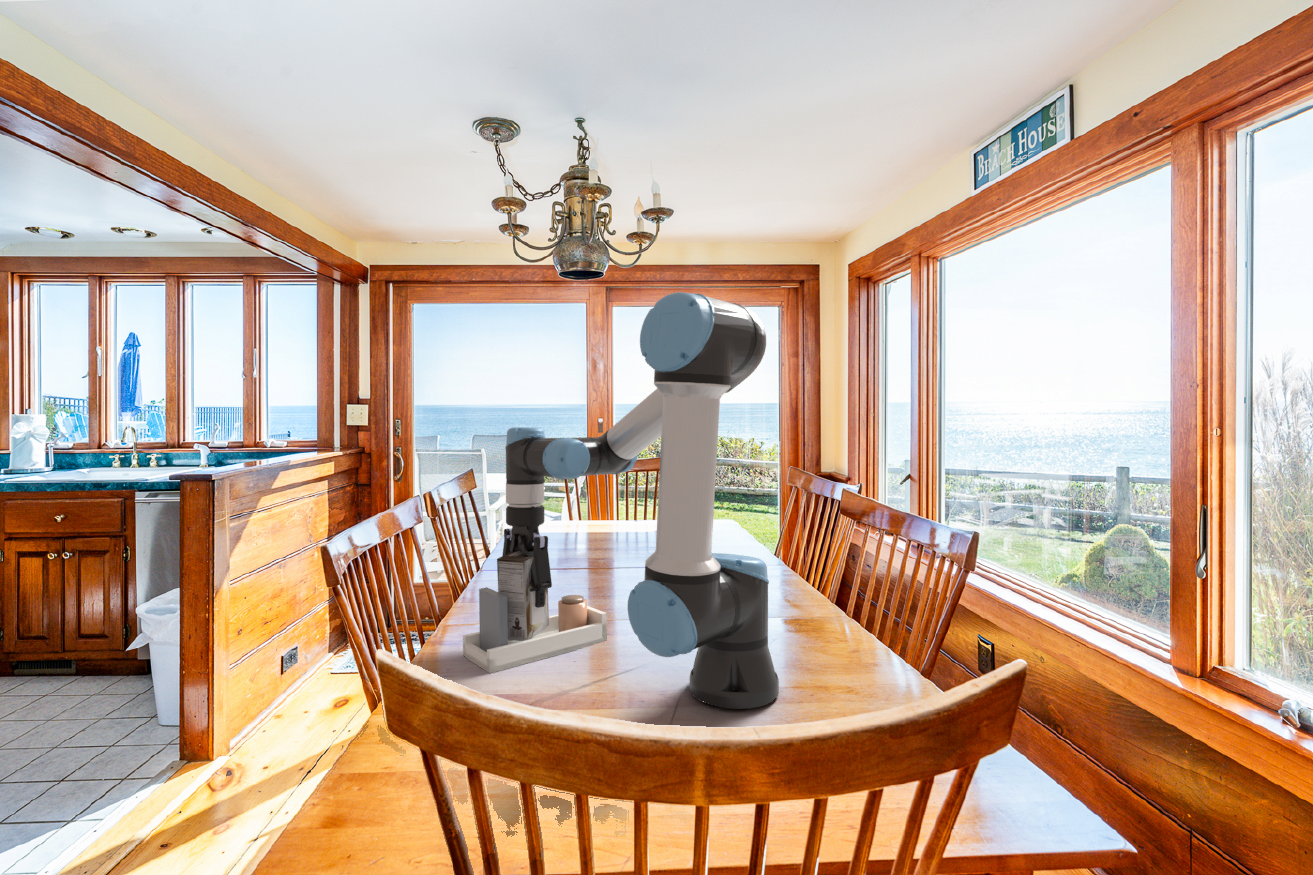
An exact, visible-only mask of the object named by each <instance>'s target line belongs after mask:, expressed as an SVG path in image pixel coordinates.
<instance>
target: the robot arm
mask: <svg viewBox="0 0 1313 875" xmlns="http://www.w3.org/2000/svg"><path fill="white" fill-rule="evenodd" d="M640 329H641V330H640V334H639V347H640V352H641V356H642V357H644V360H645V363H646V364H647V365H648V366H649V367H651V368H652V369H653V370H654V373H653V374H654V375H653V376H654V377H653V385H654V386H655V387H656V389H655V390H654V391H653V392H651V393H650V394H649V395H648V396H646V397H645V398H644V399H643V400H642V401H641V402H640V403H638V404H637V405H636V406H635V407H634V408H633V409H631V410H630V411H629V412H628V413H627V414H626V415H625V416H623V417H622V418H621V419H620V420H618V422H616V423H615V424H614V425H613V426H612V427H610V428H609V429H608V430H606V431H605V432H604V433H603V434H602V435H599V436H597V437H595V436H594V437H590V436H588V437H587V436H586V437H546V434H545V430H544V428H542V427H510V428H508V430H507V431H506V440H505V441H506V442H505V443H506V445H505V479H506V480H505V481H506V482H505V503H506V504H507V506H506V507H505V523H506V524H507V526H510V527H511V528H505V529H503V539H504V540H503V541H504V542H503V548H502V556H504V555H506V554H508V553H510V552H514V551H522V554H523V556H525V557H534V559H533V562H532V564H531V582H532V587H533V588H531V589H529V590H530V624H531V625H533V624H538V623H542V622H544V605H545V589H547V588H548V589H550V588H552V587H553V584H552V575H551V573H552V572H551V567H550V566H551V565H550V556H549V550H548V549H549V537H548V536H547V535H543V536H542V535H540V530H539V527H540V526H542V525H543V524H544V523H545V506H544V505H543V503H544V502H545V491H546V487H545V481H546V480H545V478H546V477H547V478H554V479H558V480H573V479H574V480H575V479H579V477H585V476H597V475H598V476H601V475H602V476H603V475H618V474H621V473H627V472H628V471H631V470H632V469H633V468H634V467H635V464H636V462H637V461H638V455H640V453H642V452H643V451H644V450H645V449H647V448H648V447H650V446H651V445H652V444H653V443H655V442H656V441H657V440H659V439H660V452H659V453H660V457H659V458H660V459H659V477H658V495H657V497H658V499H657V516H656V520H657V521H656V537H655V538H656V539H655V540H656V541H655V551H654V552H652V554H650V555H649V556H648V557H647V558H646V560H645V561H644V580H643V581H639V582H638V583H637V584H636V585H635V586H634V588H632V590H630V593H629V595H628V599H627V615H628V616H627V617H628V621H629V624H630V626H631V628H632V631H633V633H634V634H635V635H636V636H637V638H638V640H639V642H640V643H641V644H642V645H643V647H645V648H646V649H647V650H648V651H649V652H651V653H653V654H654V655H655V656H658V657H662V658H673V657H676V656H679V655H687V654H689V653H691V652H693V650H695V649H697V651H696V654H695V657H694V658H695V659H694V661H693V663H694V664H693V666H692V669H691V670H690V674H689V692H690V694H691V695H692V696H693V695H694V696H695V697H696V698H697V699H696V698H695V697H694V696H693V697H694V698H695V699H696V700H698V699H699V700H698V701H700V700H701V701H700V702H702V701H704V702H706V703H709V704H711V705H710V706H713V705H715V706H714V707H717V706H718V707H717V708H723V707H724V709H736V710H741V709H742V710H744V709H745V708H746V709H755V708H759V707H763V706H765V705H766V706H767V705H768V703H769V704H771V703H772V702H774V701H775V700H776V699H777V698H778V697H779V695H780V684H779V683H780V681H779V680H780V679H779V677H778V674H777V672H776V670H775V667H774V663H773V660H772V656H771V652H770V649H769V584H770V580H769V578H768V566H767V564H766V562H765V561H764V560H763V559H761V558H759V557H754V556H748V555H744V554H743V555H742V554H733V553H722V552H721V553H719V552H718V553H717V552H713V550H712V548H713V532H714V529H713V528H714V515H715V514H714V512H715V510H714V509H715V499H716V498H715V494H716V476H717V460H718V459H717V458H718V454H717V453H718V442H719V441H718V439H719V438H718V436H719V422H720V421H719V420H720V403H721V402H720V401H721V398H722V396H723V395H724V394H727V393H729V392H730V391H733V389H735V388H737V386H739V385H741V383H742V382H744V381H745V380H746V379H748V378H749V377H750V376H751V375H752V374H754V372H755V371H756V370H757V368H758V367H759V365H760V363H761V362H762V360H763V358H764V355H765V354H766V353H765V352H766V348H767V335H766V334H767V333H766V330H765V327H764V324H763V322H762V320H761V319H760V317H758V315H757V314H756V313H755V312H754V311H752V310H751V309H750V308H748V307H747V306H744V305H742V304H740V303H739V304H738V303H735V302H728V301H724V300H721V299H717V298H713V297H710V296H706V295H704V294H702V293H689V292H682V291H681V292H673V293H670V294H666V295H665V296H663V297H662V298H660V299H659V300H657V301H656V302H655V304H654V306H653V307H652V308H651V309H649V311H648V312H647V314H646V316H645V317H644V320H643V323H642V325H641V328H640ZM502 556H501V557H502ZM778 694H779V695H778ZM777 696H778V697H777ZM776 697H777V698H776ZM775 698H776V699H775ZM774 699H775V700H774ZM773 700H774V701H773ZM704 702H703V703H704ZM770 702H771V703H770ZM706 703H705V704H706ZM709 704H708V705H709Z"/></svg>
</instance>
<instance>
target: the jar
mask: <svg viewBox="0 0 1313 875" xmlns="http://www.w3.org/2000/svg"><path fill="white" fill-rule="evenodd" d="M557 602H558V603H557V606H558V610H557V614H558V628H559V632H562V631H566V630H570V629H574V628H578V627H582V626H587V606H588V600H587V599H585V598H584V596H583V595H580V594H568V595H565V596H562V597H561V599H560V600H558V601H557Z"/></svg>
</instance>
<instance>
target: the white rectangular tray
mask: <svg viewBox="0 0 1313 875" xmlns="http://www.w3.org/2000/svg"><path fill="white" fill-rule="evenodd" d="M607 640H608V613H607V612H605V611H602V610H600V609H598V608H597V609H596V608H594V607H592V606H589V605H587V626H582V627H578V628H574V629H570V630H566V631H562V632H559V628H558V613H557V614H553V615H549V626H547V627H546V628H545V629H543V630H542V631H541V632H539V633H538V634H537V635H536V636H534V637H533V638H532V639H529V640H525V641H516V640H508V645H504V646H500V647H496V648H492V649H488V650H487V652H485V651H484V650H482V649H481V648H480V631H477V632H471V633H467V634H463V635H462V656H463V655H464V656H465V657H464V656H463V657H464V658H466V659H467V660H469V661H471V662H472V663H473V664H475V665H476V666H478V667H480V668H481V669H483V670H484V671H485V672H487V673H488V674H494V673H498V672H500V671H504V670H508V669H512V668H515V667H518V666H523V665H527V664H530V663H533V662H537V661H541V660H544V659H545V660H546V659H549V658H552V657H556V656H559V654H560V655H564V654H568V653H571V652H575V651H577V650H578V649H579V650H581V649H584V648H587V647H590V646H594V645H597V644H600V643H603V642H606V641H607ZM579 650H578V651H579ZM563 653H564V654H563Z"/></svg>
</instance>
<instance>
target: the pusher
mask: <svg viewBox="0 0 1313 875" xmlns="http://www.w3.org/2000/svg"><path fill="white" fill-rule="evenodd" d="M478 592H479V593H478V595H479V596H478V597H479V598H478V602H479V603H478V608H479V610H478V611H479V612H478V613H479V615H478V616H479V632H480V648H481V649H482V650H484V651H485V652H487V650H488V649H492V648H496V647H500V646H504V645H508V626H507V596H506V595H503V594H501V593H499V592H498V591H496V590H494V589H491V588H489V587H482V588H479V589H478Z"/></svg>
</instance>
